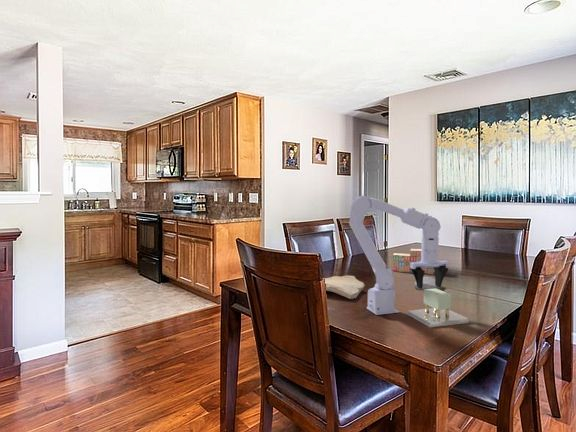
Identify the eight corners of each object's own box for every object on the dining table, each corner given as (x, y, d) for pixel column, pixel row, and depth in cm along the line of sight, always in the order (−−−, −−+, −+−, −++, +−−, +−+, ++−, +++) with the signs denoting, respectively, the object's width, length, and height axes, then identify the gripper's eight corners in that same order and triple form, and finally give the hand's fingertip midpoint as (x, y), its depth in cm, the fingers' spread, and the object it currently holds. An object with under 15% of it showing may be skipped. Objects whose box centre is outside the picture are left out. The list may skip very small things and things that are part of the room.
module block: (438, 310, 126) (438, 295, 125) (423, 303, 133) (423, 289, 133) (450, 308, 127) (451, 294, 127) (435, 302, 135) (435, 288, 134)
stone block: (442, 290, 173) (420, 283, 179) (444, 281, 172) (423, 274, 178) (434, 297, 164) (412, 289, 170) (437, 287, 163) (414, 279, 169)
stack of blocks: (392, 271, 206) (392, 249, 205) (393, 269, 212) (393, 247, 211) (434, 274, 198) (434, 251, 197) (434, 272, 204) (434, 249, 203)
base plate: (430, 327, 122) (430, 314, 122) (407, 314, 135) (407, 302, 134) (468, 322, 126) (468, 309, 126) (442, 310, 139) (443, 298, 138)
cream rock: (318, 286, 180) (298, 292, 162) (319, 270, 180) (300, 275, 162) (367, 294, 168) (351, 302, 150) (368, 278, 168) (353, 283, 150)
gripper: (418, 252, 128) (417, 291, 129) (454, 250, 132) (453, 288, 133) (407, 249, 135) (406, 286, 136) (441, 247, 139) (440, 283, 140)
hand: (428, 287), depth 135 cm, fingers open, 7 cm apart
